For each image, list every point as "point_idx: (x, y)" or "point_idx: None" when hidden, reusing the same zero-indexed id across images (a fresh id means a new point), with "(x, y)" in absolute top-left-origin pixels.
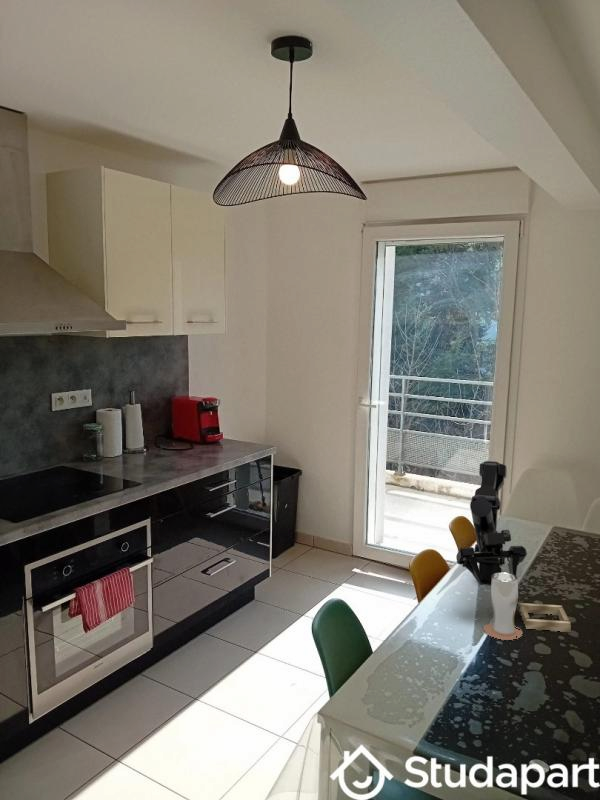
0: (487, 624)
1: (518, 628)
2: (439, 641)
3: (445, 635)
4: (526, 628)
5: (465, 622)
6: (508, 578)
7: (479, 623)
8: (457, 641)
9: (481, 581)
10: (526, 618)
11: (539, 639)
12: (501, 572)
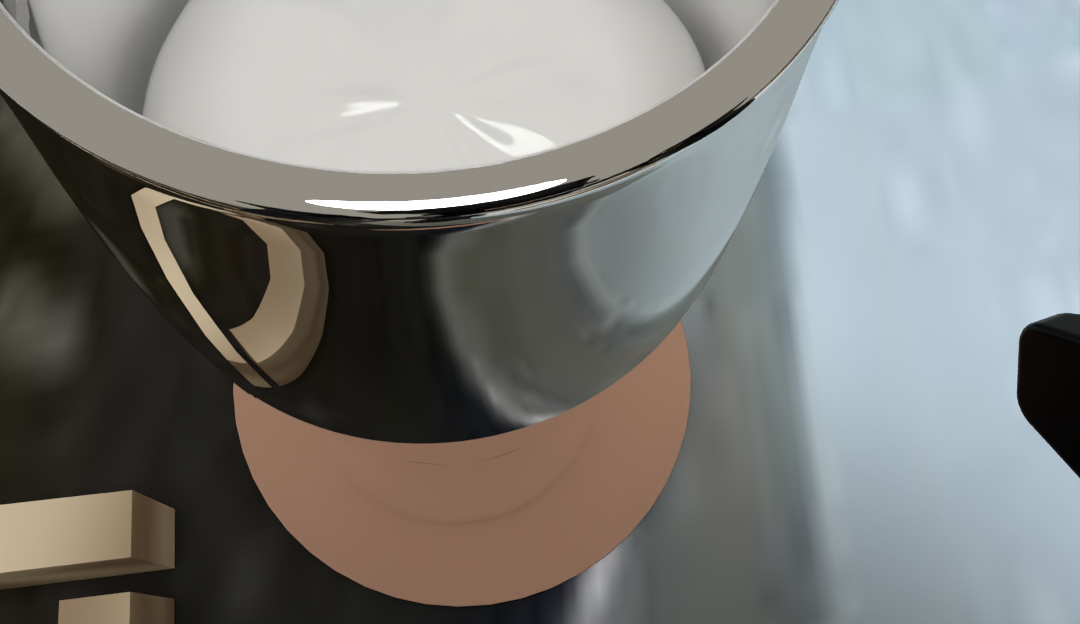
0: (655, 492)
1: (270, 477)
2: (1066, 22)
3: (1049, 145)
4: (165, 509)
5: (921, 512)
6: (247, 281)
7: (753, 531)
8: (909, 57)
9: (1078, 323)
10: (113, 596)
11: (60, 288)
12: (515, 168)
